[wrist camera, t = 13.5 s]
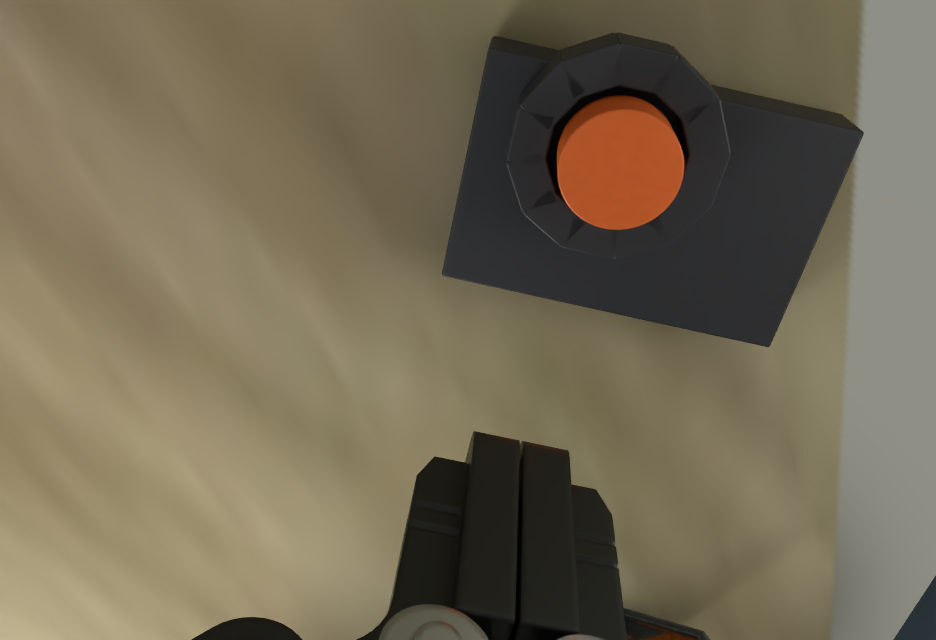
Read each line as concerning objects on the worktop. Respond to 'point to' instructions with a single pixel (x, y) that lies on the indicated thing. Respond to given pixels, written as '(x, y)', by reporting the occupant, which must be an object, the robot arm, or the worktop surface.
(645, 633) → the tool
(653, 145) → the button
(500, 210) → the button box
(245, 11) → the worktop surface
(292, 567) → the worktop surface
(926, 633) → the dial base
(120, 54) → the worktop surface
